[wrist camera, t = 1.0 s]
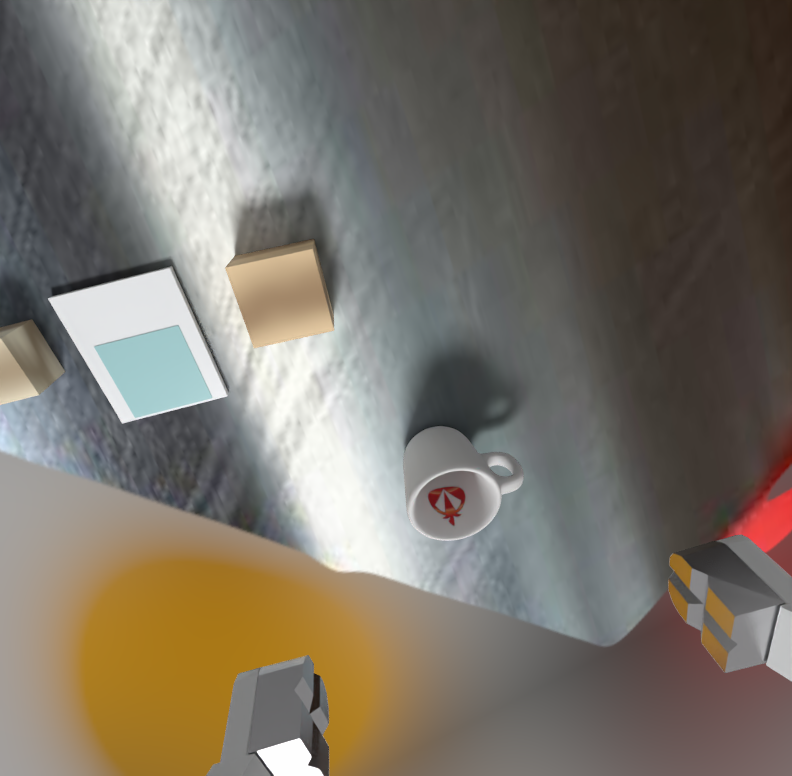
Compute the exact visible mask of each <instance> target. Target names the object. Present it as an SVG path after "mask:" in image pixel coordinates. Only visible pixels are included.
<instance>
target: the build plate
mask: <svg viewBox="0 0 792 776" xmlns="http://www.w3.org/2000/svg"><path fill="white" fill-rule="evenodd" d="M48 300H49V301H50V303H51V305H52V306H53V308H54V310H55V311H56V313H57V315H58V316H59V318H60V320H61V321H62V323H63V325H64V326H65V328H66V330H67V331H68V333H69V335H70V336H71V338H72V340H73V342H74V343H75V345H76V347H77V348H78V350H79V352H80V353H81V355H82V357H83V358H84V360H85V362H86V363H87V365H88V367H89V368H90V370H91V372H92V373H93V375H94V377H95V378H96V380H97V382H98V383H99V385H100V387H101V388H102V390H103V392H104V393H105V395H106V397H107V398H108V400H109V402H110V403H111V405H112V407H113V408H114V410H115V412H116V413H117V415H118V417H119V418H120V420H121V422H122V423H125V422H129V421H133V420H137V419H141V418H145V417H149V416H153V415H156V414H160V413H164V412H168V411H172V410H176V409H180V408H184V407H188V406H191V405H195V404H199V403H203V402H207V401H211V400H215V399H219V398H223V397H226V396H228V394H229V392H228V390H227V388H226V385H225V383H224V381H223V379H222V377H221V374H220V372H219V370H218V368H217V365H216V363H215V361H214V359H213V356H212V354H211V352H210V350H209V348H208V345H207V343H206V341H205V339H204V336H203V334H202V332H201V330H200V328H199V325H198V323H197V321H196V319H195V316H194V314H193V312H192V310H191V308H190V305H189V303H188V301H187V299H186V296H185V294H184V292H183V290H182V287H181V285H180V283H179V281H178V279H177V276H176V274H175V272H174V270H173V267H172V266H170V267H166V268H162V269H158V270H154V271H151V272H147V273H143V274H139V275H135V276H131V277H127V278H123V279H119V280H115V281H111V282H107V283H103V284H99V285H95V286H91V287H87V288H83V289H79V290H75V291H71V292H67V293H63V294H59V295H55V296H52V297H50V298H48Z"/></svg>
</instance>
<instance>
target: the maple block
mask: <svg viewBox="0 0 792 776" xmlns="http://www.w3.org/2000/svg"><path fill="white" fill-rule="evenodd" d="M63 373H65V371H64V369H63V367H62V366H61V364H60V363H59V361H58V360H57V358H56V356H55V355H54V353H53V352H52V350H51V348H50V347H49V345H48V344H47V342H46V340H45V339H44V337H43V336H42V334H41V333H40V331H39V329H38V328H37V326H36V325H35V323H34V321H33V320H28V321H24V322H20V323H16V324H12V325H8V326H4V327H0V405H2V404H6V403H10V402H13V401H17V400H21V399H25V398H29V397H33V396H37V395H40V394H41V393H42V392H43V391H44V390H45V389H46V388H48V387H49V386H50V385H51V384H52V383H53V382H54V381H55V380H57V379H58V378H59V377H60V376H61V375H62V374H63Z"/></svg>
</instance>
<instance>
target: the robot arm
mask: <svg viewBox="0 0 792 776" xmlns="http://www.w3.org/2000/svg"><path fill="white" fill-rule="evenodd" d="M669 565H670V567H671V568H672V569H673V570H674V572H673V574H672V575H671V576H670V577H669V579H668V590H669V593H670V596H671V599H672V602H673V604H674V606H675V607H676V609H677V611H678V612H679V614H680V615H681V616H682V618H683V619H684V621H685V622H686V623H687V624H689V625H691V626H693V627H695V628H697V629H699V630H701V643H702V644H703V645H704V647H705V648H706V649H707V650H708V652H709V653H710V654H711V656H712V657H713V658H714V659H715V661H716V662H717V663H718V665H719V666H720V667H721V669H722V670H723V671H724V672H725V673H727V672H731V671H735V670H739V669H743V668H747V667H751V666H755V665H759V664H763V663H767V664H766V665H767V666H768V667H770V668H771V669H773V670H774V671H776V672H778V673H779V674H781V675H782V676H784V677H786V678H787V679H789V680H790V681H792V577H791V576H790V575H789V574H787V572H785V571H784V570H783V569H782V568H781V567H780V566H779V565H778V564H777V563H776V562H774V561H773V560H772V559H771V558H770V557H769V556H768V555H767V554H766V553H764V552H763V551H762V550H761V549H760V548H759V547H758V546H757V545H756V544H754V543H753V542H752V541H751V540H750V539H749V538H748V537H745V536H743V535H735V536H732V537H728V538H725V539H722V540H719V541H712V542H709V543H705V544H702V545H699V546H695V547H692V548H689V549H685V550H682V551H679V552H675V553H673V554H672V555H671V556H670V562H669ZM328 724H329V708H328V700H327V693H326V690H325V686H324V683H323V681H322V679H321V677H320V676H319V675H317V674H314V664H313V662H312V660H311V659H310V657H309V656H308V655H307V656H304V657H300V658H296V659H293V660H288V661H285V662H281V663H277V664H274V665H269V666H266V667H261V668H257V669H254V670H250V671H246V672H243V673H240V674H238V676H237V678H236V680H235V683H234V687H233V692H232V698H231V704H230V710H229V715H228V721H227V727H226V733H225V738H224V744H223V750H222V755H221V762H220V763H217V764H214V765H213V766H212V767H211V769H210V771H209V772H208V774H207V775H206V776H329V746H328V744H327V743H326V741H325V739H324V737H323V733H324V732H325V730H326V728H327V726H328Z"/></svg>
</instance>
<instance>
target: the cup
mask: <svg viewBox="0 0 792 776" xmlns="http://www.w3.org/2000/svg"><path fill="white" fill-rule="evenodd" d="M493 465H501V466H504V467H506V468H508V469H509V470H510V471H511V472H512V474H513V475H511V476H507V477H504V476H499V475H497V474H495V473H494V472H493V471H492V470H491V469H490V468H489V467H491V466H493ZM403 470H404V482H405V495H406V507H407V514H408V517H409V520H410V522H411V524H412V525H413V526H414V528H415V529H416V530H417V531H419V532H420V533H421V534H423V535H425V536H427V537H429V538H432V539H436V540H444V541H450V540H458V539H462V538H466V537H468V536H471V535H473V534H475V533H477V532H479V531H480V530H482V529H483V528H484V527H486V526H487V525H488V524H489V523H490V522H491V521H492V520H493V518H494V517H495V515H496V514H497V512H498V510H499V507H500V504H501V495H502V494H505V493H509V492H512V491H515V490H516V489H518V488H519V487H520V486H521V485H522V482H523V469H522V467H521V465H520V464H519V462H518V461H517V460H516V459H515V458H514V457H512V456H511V455H509V454H507V453H503V452H490V453H483V454H480V453H478V452H477V451H476V449H475V448H474V446H473V445H472V444H471V442H470V441H469V440H468V439H467V438H466V437H465V436H464V435H463V434H462V433H461V432H459V431H458V430H456V429H453V428H450V427H445V426H436V427H431V428H428V429H425V430H423V431H421V432H419V433H418V434H417V435H415V436H414V437H413V438H412V439H411V441H410V442H409V443H408V445H407V447H406V449H405V453H404V458H403Z"/></svg>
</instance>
